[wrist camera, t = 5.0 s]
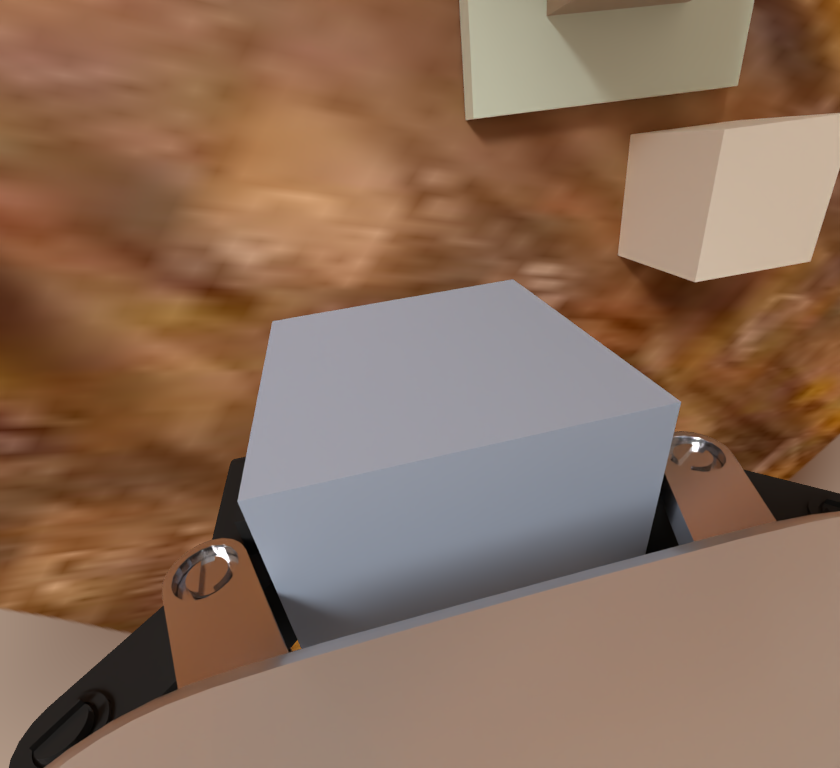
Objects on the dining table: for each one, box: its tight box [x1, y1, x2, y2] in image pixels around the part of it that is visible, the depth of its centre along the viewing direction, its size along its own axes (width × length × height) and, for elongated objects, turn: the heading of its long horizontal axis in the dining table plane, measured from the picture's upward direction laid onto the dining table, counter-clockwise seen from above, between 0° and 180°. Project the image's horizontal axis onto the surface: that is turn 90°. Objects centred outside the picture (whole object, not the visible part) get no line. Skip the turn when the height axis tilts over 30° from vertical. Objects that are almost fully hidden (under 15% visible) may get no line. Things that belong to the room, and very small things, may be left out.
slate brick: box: [237, 279, 681, 649], centre depth 10 cm, size 6×6×6 cm
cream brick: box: [618, 113, 840, 282], centre depth 22 cm, size 6×6×6 cm
